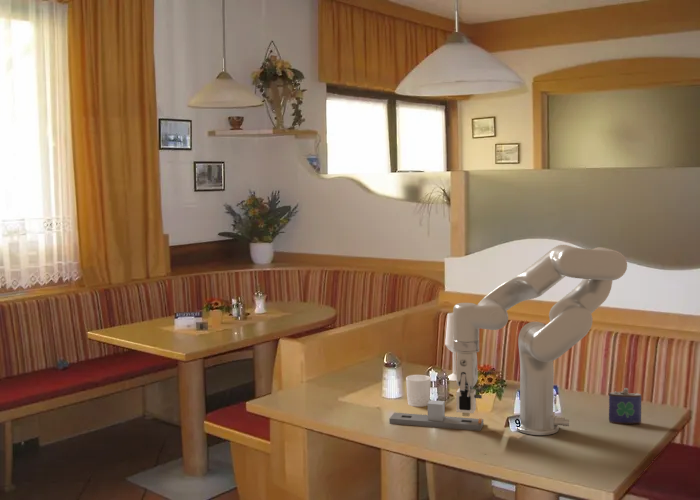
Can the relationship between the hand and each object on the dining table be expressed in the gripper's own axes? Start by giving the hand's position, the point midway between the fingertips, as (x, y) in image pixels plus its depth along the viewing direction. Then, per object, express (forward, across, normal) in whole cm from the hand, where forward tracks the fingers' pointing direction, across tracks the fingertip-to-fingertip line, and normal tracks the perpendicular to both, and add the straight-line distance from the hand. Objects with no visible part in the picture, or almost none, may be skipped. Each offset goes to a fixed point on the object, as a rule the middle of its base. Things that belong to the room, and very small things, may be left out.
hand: (466, 406), depth 231 cm
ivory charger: (+3, 0, 0) cm, 3 cm away
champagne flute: (+7, +58, +13) cm, 60 cm away
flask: (+7, +19, -45) cm, 49 cm away
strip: (+7, 0, +9) cm, 12 cm away
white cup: (+8, +19, +18) cm, 28 cm away
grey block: (+6, 0, +9) cm, 11 cm away
